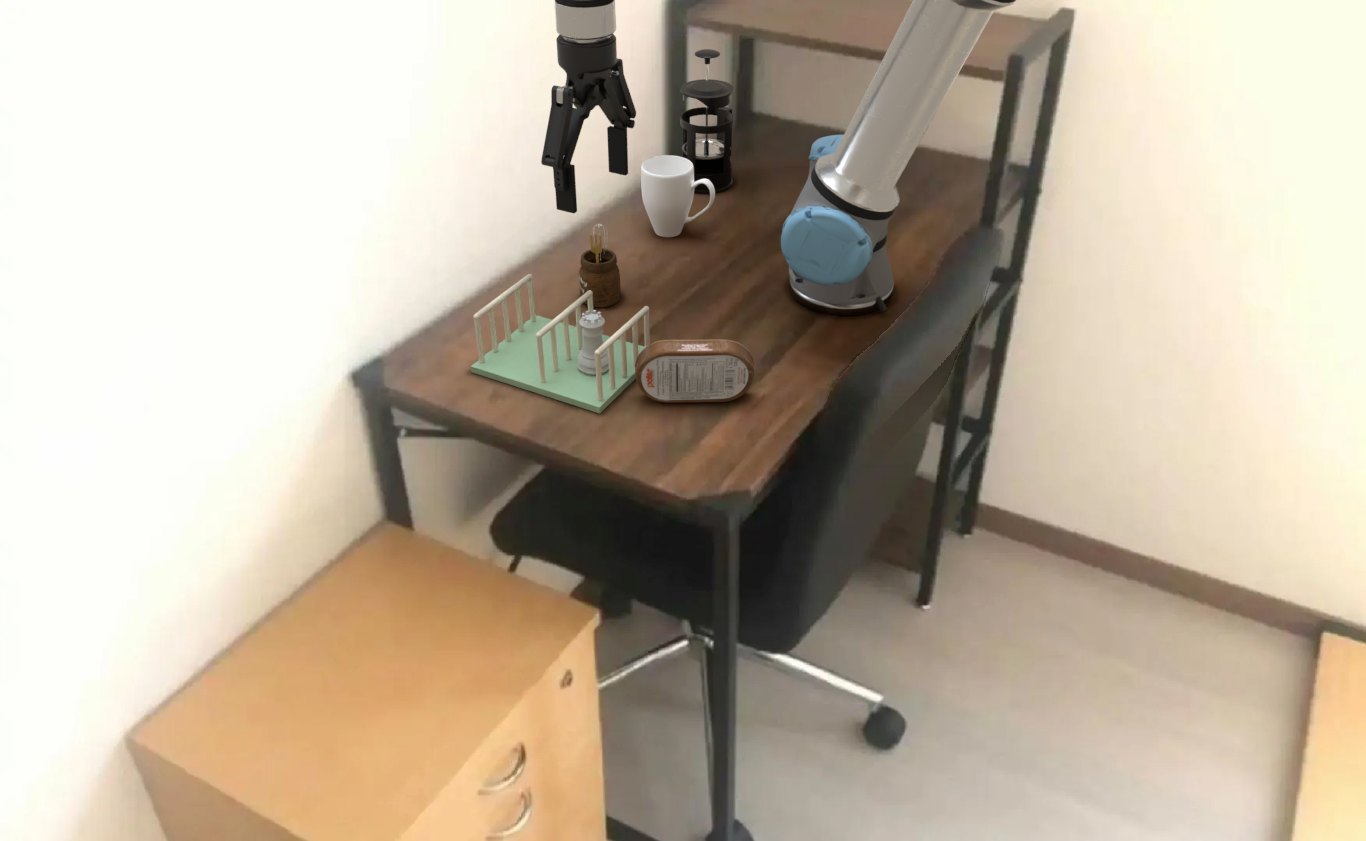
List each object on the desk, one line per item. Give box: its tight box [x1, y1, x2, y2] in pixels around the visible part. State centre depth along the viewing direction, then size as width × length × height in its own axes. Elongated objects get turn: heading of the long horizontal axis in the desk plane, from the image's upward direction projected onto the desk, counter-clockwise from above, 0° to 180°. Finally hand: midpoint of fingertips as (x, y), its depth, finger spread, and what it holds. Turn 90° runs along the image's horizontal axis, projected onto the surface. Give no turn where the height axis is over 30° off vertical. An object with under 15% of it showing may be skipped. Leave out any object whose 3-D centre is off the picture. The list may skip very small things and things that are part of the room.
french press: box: [679, 48, 735, 195], centre depth 191 cm, size 12×9×23 cm
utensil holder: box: [578, 223, 621, 309], centre depth 161 cm, size 6×6×12 cm
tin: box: [635, 338, 755, 404], centre depth 141 cm, size 15×3×8 cm, turn 92°
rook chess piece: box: [578, 309, 609, 375], centre depth 145 cm, size 4×4×8 cm
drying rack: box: [470, 273, 651, 415], centre depth 148 cm, size 20×15×8 cm
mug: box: [640, 154, 716, 238], centre depth 178 cm, size 12×8×11 cm
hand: (593, 191), depth 153 cm, fingers open, 13 cm apart
